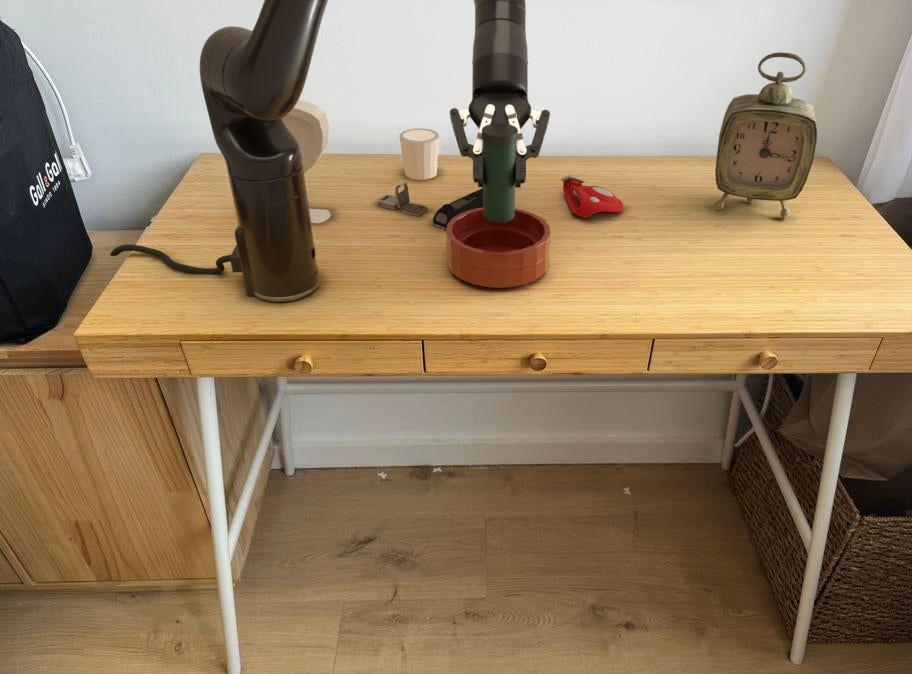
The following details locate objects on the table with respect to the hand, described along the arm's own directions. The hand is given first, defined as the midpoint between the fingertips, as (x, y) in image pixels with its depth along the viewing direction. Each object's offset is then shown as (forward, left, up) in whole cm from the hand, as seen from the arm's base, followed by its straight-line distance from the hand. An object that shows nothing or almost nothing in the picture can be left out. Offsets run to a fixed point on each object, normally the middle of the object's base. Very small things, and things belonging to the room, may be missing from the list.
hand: (499, 184), depth 109 cm
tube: (0, +2, -5) cm, 6 cm away
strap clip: (-16, +21, -14) cm, 29 cm away
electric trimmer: (-5, +20, -14) cm, 25 cm away
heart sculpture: (-34, +18, -14) cm, 40 cm away
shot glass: (-14, +35, -14) cm, 40 cm away
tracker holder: (+15, +23, -14) cm, 31 cm away
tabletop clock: (+42, +23, -14) cm, 50 cm away
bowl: (0, +2, -13) cm, 14 cm away
